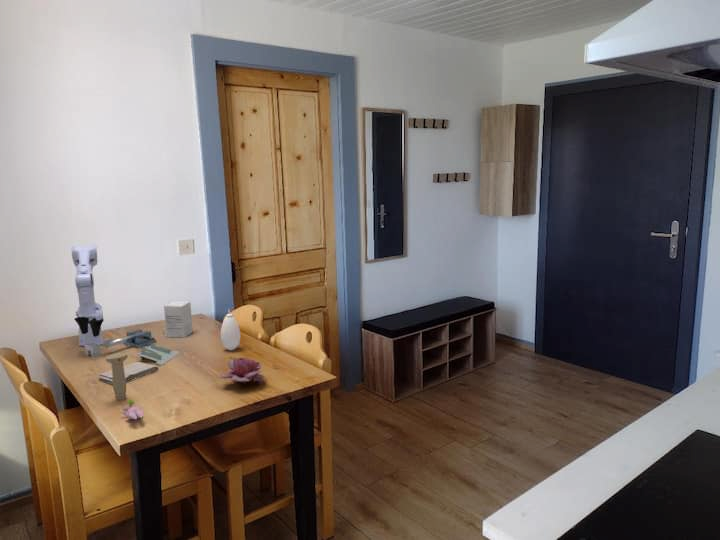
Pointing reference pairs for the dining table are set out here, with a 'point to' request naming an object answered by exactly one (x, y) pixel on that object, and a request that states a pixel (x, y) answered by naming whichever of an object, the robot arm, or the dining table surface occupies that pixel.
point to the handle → (118, 374)
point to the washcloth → (130, 372)
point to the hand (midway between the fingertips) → (90, 334)
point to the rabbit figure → (132, 411)
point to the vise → (133, 339)
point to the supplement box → (178, 319)
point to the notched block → (92, 349)
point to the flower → (244, 370)
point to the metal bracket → (157, 354)
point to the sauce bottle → (230, 332)
